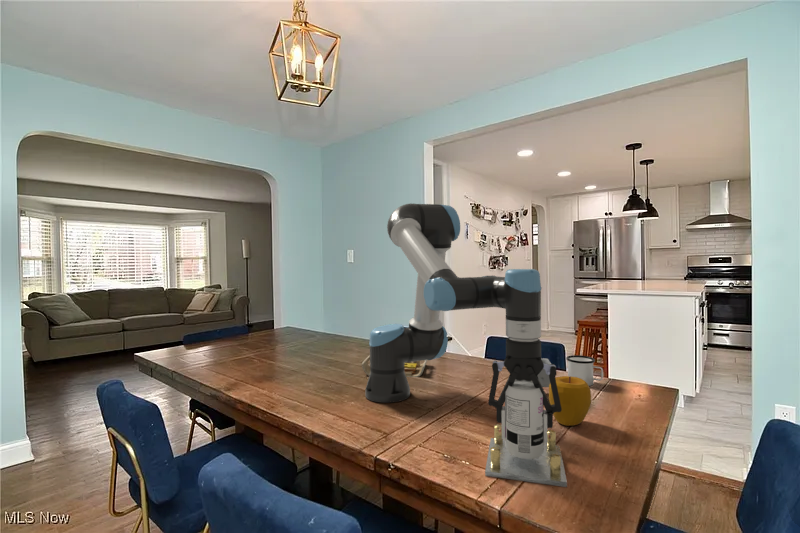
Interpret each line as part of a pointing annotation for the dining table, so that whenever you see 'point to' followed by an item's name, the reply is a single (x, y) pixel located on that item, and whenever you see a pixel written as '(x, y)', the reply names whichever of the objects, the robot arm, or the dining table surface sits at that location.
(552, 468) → the plate
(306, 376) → the dining table surface
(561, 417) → the apple
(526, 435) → the supplement can
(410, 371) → the toy food set
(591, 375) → the mug
